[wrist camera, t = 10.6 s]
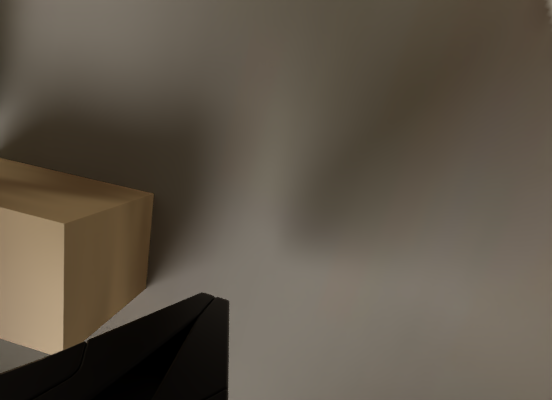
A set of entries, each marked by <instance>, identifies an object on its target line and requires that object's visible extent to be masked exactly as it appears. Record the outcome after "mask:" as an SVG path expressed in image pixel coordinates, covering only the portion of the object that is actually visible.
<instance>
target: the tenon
mask: <svg viewBox="0 0 552 400" xmlns="http://www.w3.org/2000/svg"><path fill="white" fill-rule="evenodd" d="M153 199H154V194H153V193H149V192H145V191H140V190H136V189H132V188H127V187H123V186H119V185H115V184H110V183H106V182H102V181H97V180H93V179H89V178H84V177H80V176H76V175H72V174H67V173H63V172H59V171H54V170H50V169H46V168H42V167H37V166H33V165H29V164H24V163H20V162H16V161H12V160H7V159H3V158H0V339H3V340H6V341H10V342H13V343H16V344H19V345H22V346H25V347H28V348H32V349H35V350H38V351H41V352H44V353H47V354H50V355H52V354H54V353H57V352H59V351H62V350H65V349H67V348H69V347H72V346H74V345H77V344H79V343H81V342H83V341H84V340H85V339H87V338H88V337H89V336H90V335H91V334H93V333H94V332H95V331H96V330H97V329H98V328H100V327H101V326H102V325H103V324H104V323H106V322H107V321H108V320H109V319H110V318H111V317H113V316H114V315H115V314H116V313H117V312H119V311H120V310H121V309H122V308H123V307H124V306H126V305H127V304H128V303H129V302H130V301H132V300H133V299H134V298H135V297H136V296H137V295H139V294H140V293H141V292H142V291H143V290H145V289H146V281H147V269H148V258H149V246H150V234H151V223H152V211H153Z"/></svg>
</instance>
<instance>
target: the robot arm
mask: <svg viewBox="0 0 552 400" xmlns="http://www.w3.org/2000/svg"><path fill="white" fill-rule="evenodd" d="M228 362H229V301H228V300H226V299H222V298H219V297H216V298H215V297H214V296H213V295H209V294H206V293H199V294H197V295H194V296H192V297H190V298H187V299H185V300H182V301H180V302H178V303H175V304H173V305H171V306H168V307H166V308H163V309H161V310H159V311H156V312H154V313H151V314H149V315H147V316H144V317H142V318H139V319H137V320H135V321H132V322H130V323H127V324H125V325H123V326H120V327H118V328H115V329H113V330H111V331H108V332H106V333H103V334H101V335H99V336H96V337H94V338H91V339H89V340H88V341H87V343H86V342H85V341H84V342H81V343H79V344H77V345H74V346H72V347H69V348H67V349H65V350H62V351H59V352H57V353H54V354H52V355H49V356H47V357H44V358H42V359H39V360H36V361H34V362H31V363H28V364H25V365H22V366H20V367H17V368H14V369H11V370H8V371H6V372H3V373H0V400H228Z"/></svg>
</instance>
